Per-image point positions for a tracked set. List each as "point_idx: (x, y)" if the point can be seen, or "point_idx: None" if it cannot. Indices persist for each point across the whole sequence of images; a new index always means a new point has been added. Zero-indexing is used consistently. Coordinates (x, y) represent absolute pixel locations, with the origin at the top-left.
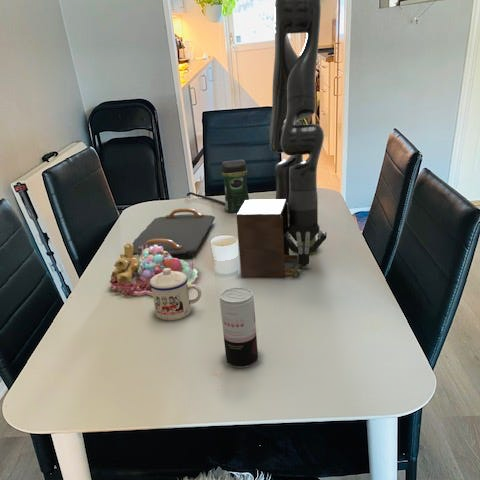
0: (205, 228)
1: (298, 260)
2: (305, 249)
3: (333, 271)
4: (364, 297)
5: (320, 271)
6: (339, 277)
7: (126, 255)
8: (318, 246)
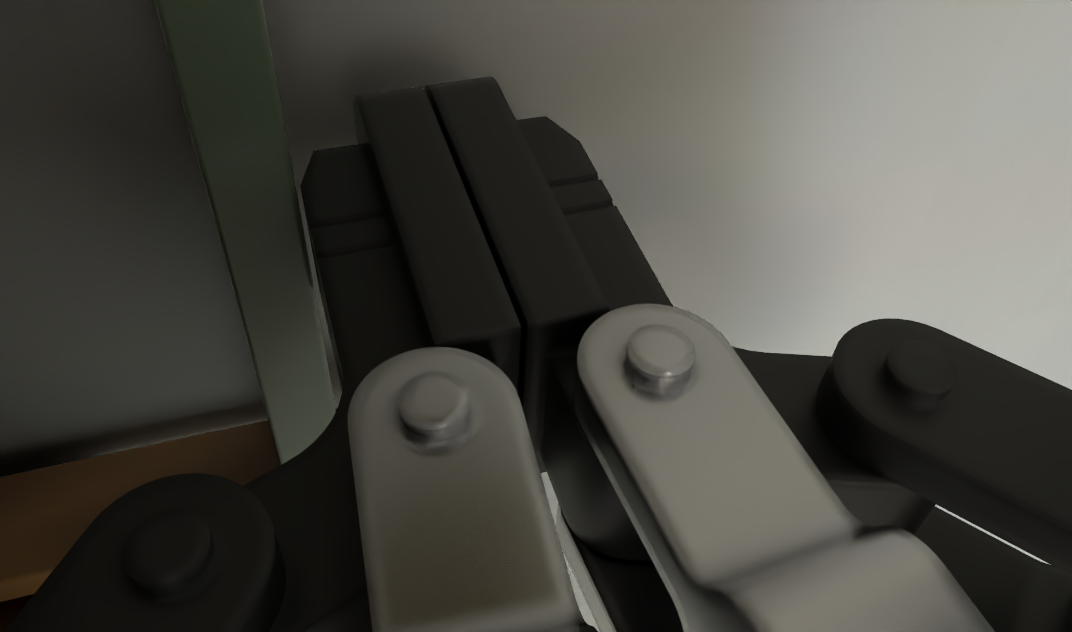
0: None
1: (270, 182)
2: (623, 624)
3: (927, 142)
4: (962, 519)
5: (722, 181)
6: (927, 294)
7: None
8: (1022, 603)
